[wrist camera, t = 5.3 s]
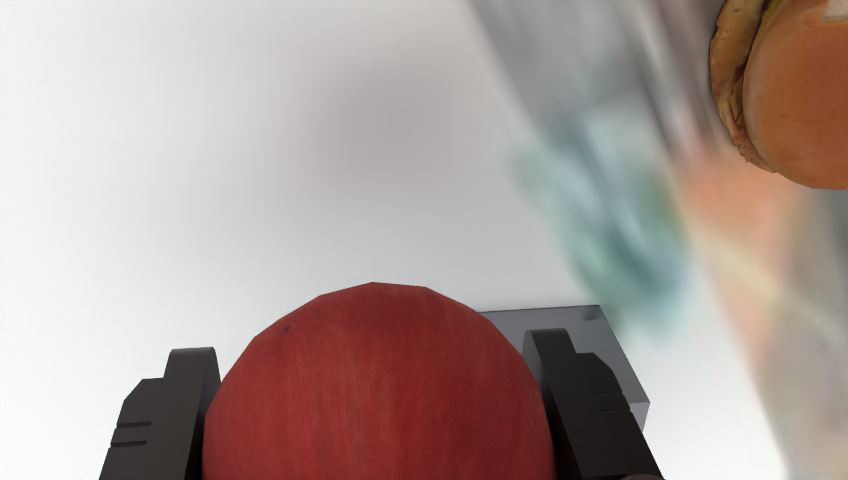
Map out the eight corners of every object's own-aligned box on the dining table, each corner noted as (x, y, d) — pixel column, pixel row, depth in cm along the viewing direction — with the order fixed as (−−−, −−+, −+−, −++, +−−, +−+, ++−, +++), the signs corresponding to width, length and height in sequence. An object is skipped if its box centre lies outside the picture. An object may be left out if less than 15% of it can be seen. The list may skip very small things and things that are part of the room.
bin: (598, 305, 33) (650, 402, 28) (561, 510, 40) (596, 616, 35) (278, 325, 31) (270, 431, 26) (301, 535, 39) (299, 649, 34)
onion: (523, 385, 17) (649, 787, 10) (282, 443, 17) (253, 875, 11) (480, 167, 14) (621, 547, 7) (183, 241, 14) (52, 679, 7)
